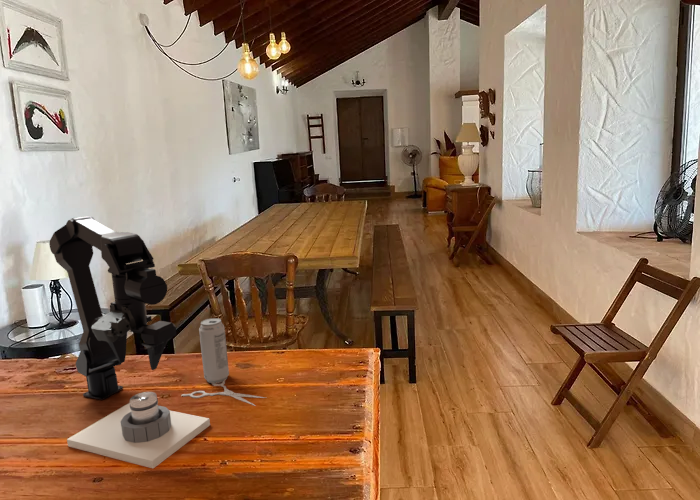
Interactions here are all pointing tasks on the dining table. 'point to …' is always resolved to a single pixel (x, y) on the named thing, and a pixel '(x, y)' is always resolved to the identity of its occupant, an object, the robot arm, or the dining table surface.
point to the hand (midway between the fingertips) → (137, 365)
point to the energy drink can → (214, 350)
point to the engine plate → (137, 451)
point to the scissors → (226, 392)
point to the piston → (144, 408)
